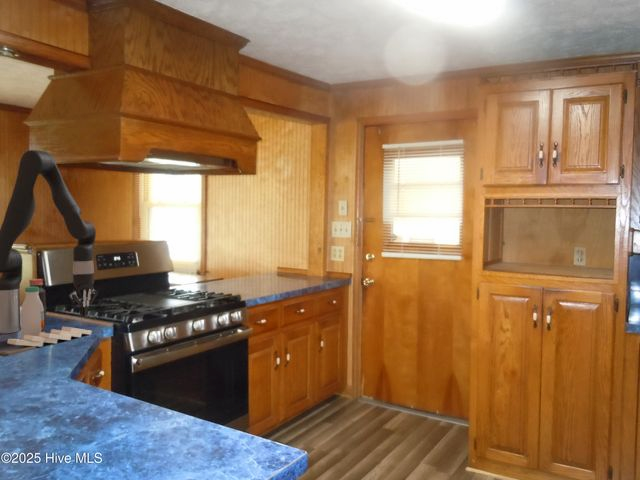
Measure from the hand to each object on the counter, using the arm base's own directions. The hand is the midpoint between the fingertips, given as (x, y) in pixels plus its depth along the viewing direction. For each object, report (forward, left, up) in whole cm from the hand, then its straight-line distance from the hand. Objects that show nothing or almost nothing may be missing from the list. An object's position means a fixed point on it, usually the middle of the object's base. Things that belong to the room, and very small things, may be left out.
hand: (83, 315), depth 209 cm
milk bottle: (-11, -14, -8) cm, 19 cm away
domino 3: (0, -14, -7) cm, 16 cm away
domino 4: (0, -9, -7) cm, 11 cm away
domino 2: (0, -23, -7) cm, 25 cm away
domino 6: (0, +1, -7) cm, 7 cm away
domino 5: (0, -4, -7) cm, 8 cm away
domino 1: (0, -20, -7) cm, 21 cm away
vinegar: (-29, +2, -8) cm, 30 cm away
